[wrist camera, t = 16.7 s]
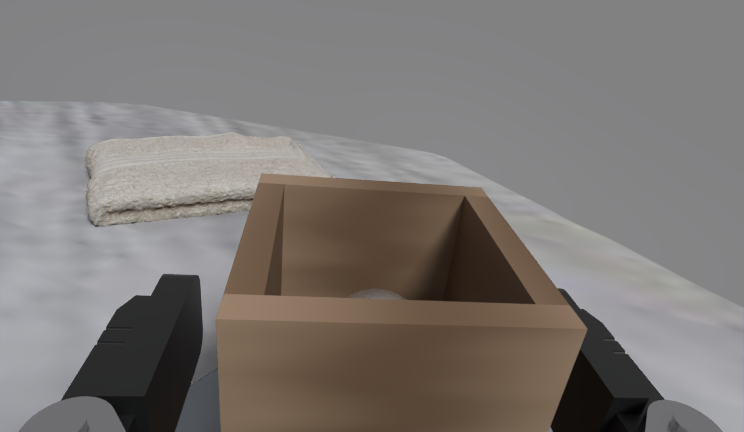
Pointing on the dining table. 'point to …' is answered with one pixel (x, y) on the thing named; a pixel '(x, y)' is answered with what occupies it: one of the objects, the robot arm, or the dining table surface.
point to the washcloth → (185, 175)
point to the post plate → (202, 401)
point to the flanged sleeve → (388, 314)
